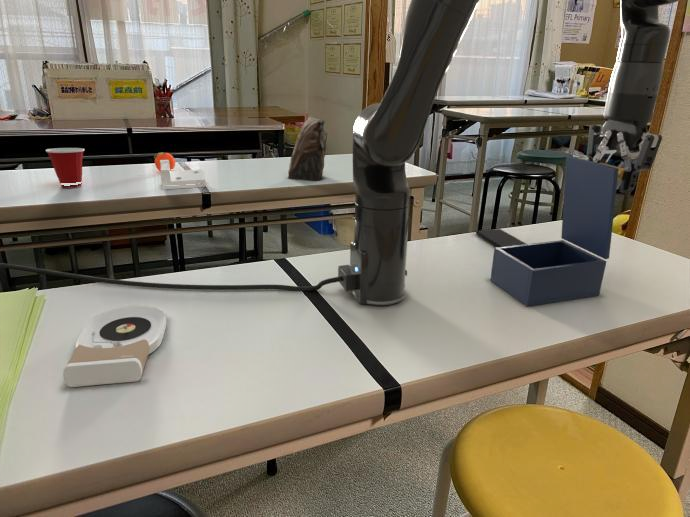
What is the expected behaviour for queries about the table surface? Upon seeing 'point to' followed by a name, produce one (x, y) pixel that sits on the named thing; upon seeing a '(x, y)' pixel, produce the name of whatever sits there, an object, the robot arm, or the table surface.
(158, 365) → the table surface
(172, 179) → the bracket
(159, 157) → the tomato
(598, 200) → the box lid
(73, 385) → the record player
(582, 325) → the table surface
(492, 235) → the smartphone
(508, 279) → the dark blue box
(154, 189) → the table surface
